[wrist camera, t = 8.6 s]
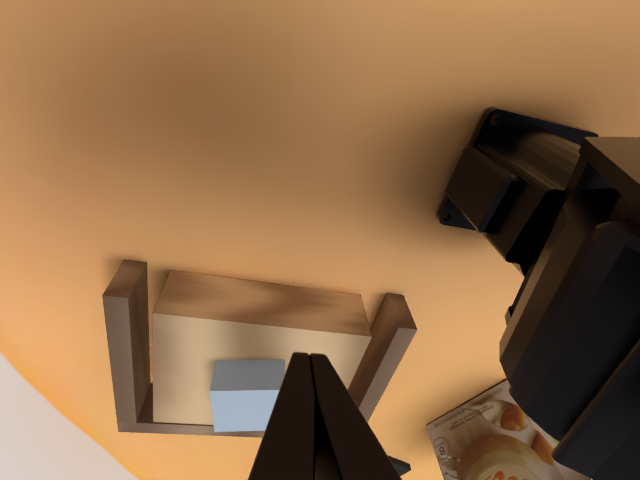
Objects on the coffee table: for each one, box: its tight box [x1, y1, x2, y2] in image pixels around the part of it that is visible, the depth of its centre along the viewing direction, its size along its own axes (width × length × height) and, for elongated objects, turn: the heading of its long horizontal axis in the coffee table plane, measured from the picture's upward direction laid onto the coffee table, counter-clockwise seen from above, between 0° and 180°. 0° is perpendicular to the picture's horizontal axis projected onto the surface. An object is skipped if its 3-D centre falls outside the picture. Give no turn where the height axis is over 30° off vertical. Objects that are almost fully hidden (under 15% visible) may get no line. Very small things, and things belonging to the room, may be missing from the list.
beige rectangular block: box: [152, 270, 372, 425], centre depth 24 cm, size 12×10×4 cm
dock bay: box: [102, 260, 417, 438], centre depth 24 cm, size 17×13×3 cm
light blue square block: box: [210, 360, 285, 432], centre depth 21 cm, size 4×4×2 cm
